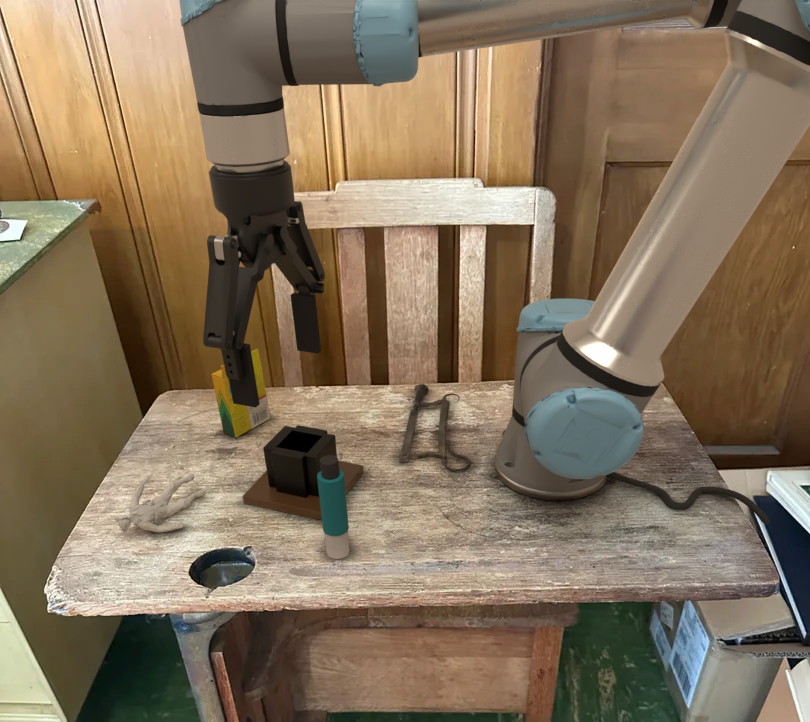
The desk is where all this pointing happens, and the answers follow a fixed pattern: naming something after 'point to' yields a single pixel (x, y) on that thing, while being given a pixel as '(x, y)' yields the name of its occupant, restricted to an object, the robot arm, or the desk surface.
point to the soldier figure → (156, 507)
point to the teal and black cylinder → (333, 507)
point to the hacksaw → (442, 453)
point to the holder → (297, 471)
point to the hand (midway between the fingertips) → (279, 376)
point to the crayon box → (235, 415)
